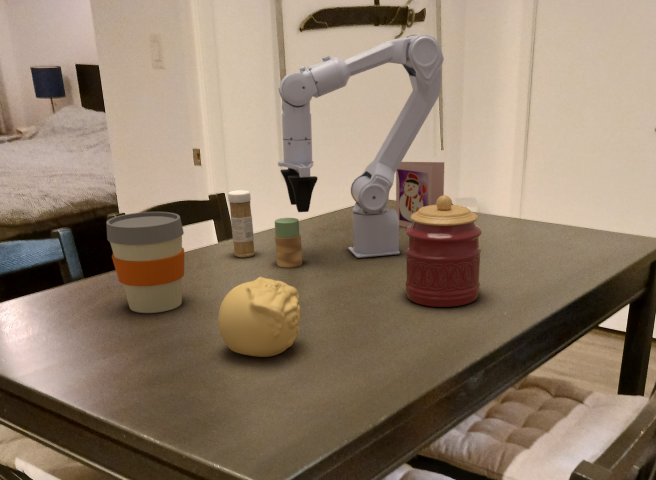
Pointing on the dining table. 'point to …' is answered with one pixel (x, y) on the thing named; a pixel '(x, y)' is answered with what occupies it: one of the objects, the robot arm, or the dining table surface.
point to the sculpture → (260, 317)
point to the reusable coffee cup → (148, 259)
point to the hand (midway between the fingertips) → (299, 208)
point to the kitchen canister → (443, 255)
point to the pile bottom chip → (289, 259)
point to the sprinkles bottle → (241, 223)
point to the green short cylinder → (287, 227)
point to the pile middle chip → (288, 244)
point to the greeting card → (417, 188)
